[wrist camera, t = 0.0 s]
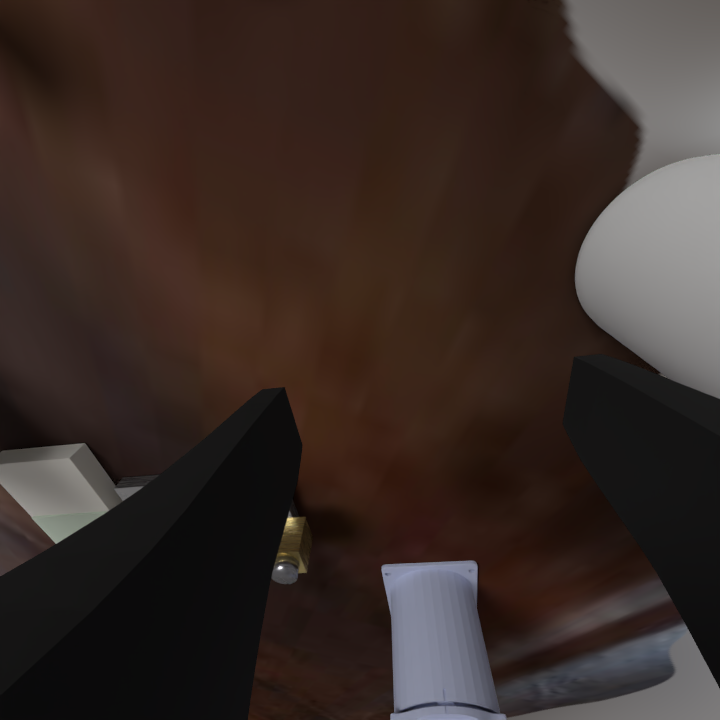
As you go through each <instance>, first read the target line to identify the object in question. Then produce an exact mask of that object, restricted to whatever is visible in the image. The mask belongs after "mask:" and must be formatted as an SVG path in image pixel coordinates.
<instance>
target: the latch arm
mask: <svg viewBox="0 0 720 720" xmlns="http://www.w3.org/2000/svg"><path fill="white" fill-rule="evenodd" d="M312 539H313V536H312V533H311V531H310V528H309V525H308V522H307V519H306V517H291V518H287V521H286V525H285V529H284V532H283V536H282V539H281V543H280V547H279V550H278V554H277V557H276V561H275V565H274V569H273V573H272V577H271V578H272V579H273V580H274V581H276V582H278V583H282V584H291V583H294V582H295V581H296V580H297V577H298V573H307V568H308V562H309V556H310V550H311V544H312Z"/></svg>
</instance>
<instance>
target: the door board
mask: <svg viewBox="0 0 720 720" xmlns="http://www.w3.org/2000/svg"><path fill="white" fill-rule="evenodd" d="M0 484H1V485H2V486H3V487H4V488H5V489H6V490H7V491H8V492H9V493H10V495H11V496H12V497H13V498H14V499H15V500H16V501H17V502H18V503H19V504H20V505H21V506H22V507H23V508H24V509H25V510H26V511H27V512H28V514H29V515H30V516H31V517H32V519H33V520H34V521H35V522H36V523H37V524H38V525H39V526H40V527H41V528H42V529H43V531H44V532H45V533H46V534H47V535H48V536H49V537H50V538H51V539H52V540H53V541H54V542H55V543H56V544H57V543H58V542H60V541H62V540H63V539H65V538H66V537H68V536H70V535H71V534H73V533H74V532H76V531H78V530H79V529H81V528H82V527H84V526H86V525H87V524H89V523H90V522H92V521H94V520H95V519H97V518H98V517H100V516H102V515H103V514H105V513H106V512H108V511H109V510H111V509H112V508H114V507H115V506H117V505H118V504H120V503H121V502H123V501H122V499H121V498H120V496H119V495H118V494H117V492H116V491H115V490H114V488H115V487H116V485H115V484H114V483H113V481H112V480H111V479H110V477H109V476H108V474H107V473H106V472H105V470H104V469H103V467H102V466H101V465H100V463H99V462H98V460H97V459H96V458H95V456H94V455H93V453H92V452H91V451H90V449H89V448H88V446H87V445H86V444H85V443H80V444H69V445H58V446H48V447H37V448H26V449H15V450H4V451H2V452H0Z"/></svg>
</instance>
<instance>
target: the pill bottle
mask: <svg viewBox="0 0 720 720" xmlns="http://www.w3.org/2000/svg"><path fill="white" fill-rule="evenodd" d="M575 286H576V292H577V296H578V299H579V301H580V304H581V306H582V307H583V309H584V311H585V312H586V313H587V315H588V316H589V317H590V318H591V319H592V320H593V321H594V322H595V323H596V324H597V325H598V326H599V327H600V328H602V329H603V330H604V331H606V332H607V333H608V334H610V335H611V336H612V337H614V338H615V339H616V340H618V341H619V342H621V343H622V344H623V345H625V346H626V347H627V348H629V349H630V350H631V351H633V352H634V353H635V354H637V355H638V356H639V357H641V358H642V359H643V360H645V361H646V362H647V363H649V364H650V365H651V366H653V367H654V368H655V369H657V370H658V371H659V372H661V373H662V374H663V375H665V376H666V377H667V378H669V379H670V380H673V381H675V382H678V383H680V384H683V385H685V386H688V387H690V388H693V389H696V390H698V391H701V392H703V393H706V394H708V395H711V396H714V397H716V398H719V399H720V154H714V155H707V156H700V157H694V158H689V159H685V160H681V161H678V162H675V163H672V164H669V165H667V166H664V167H662V168H660V169H658V170H655V171H653V172H652V173H650V174H648V175H646V176H644V177H643V178H641V179H640V180H638V181H637V182H635V183H634V184H632V185H631V186H629V187H628V188H627V189H626V190H624V191H623V192H622V193H621V194H620V195H618V196H617V197H616V198H615V199H614V200H613V201H612V202H611V203H610V204H609V205H608V206H607V207H606V208H605V210H604V211H603V212H602V213H601V214H600V216H599V217H598V218H597V220H596V221H595V222H594V224H593V225H592V227H591V228H590V230H589V232H588V234H587V235H586V237H585V239H584V242H583V244H582V246H581V249H580V252H579V255H578V259H577V263H576V269H575Z"/></svg>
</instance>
